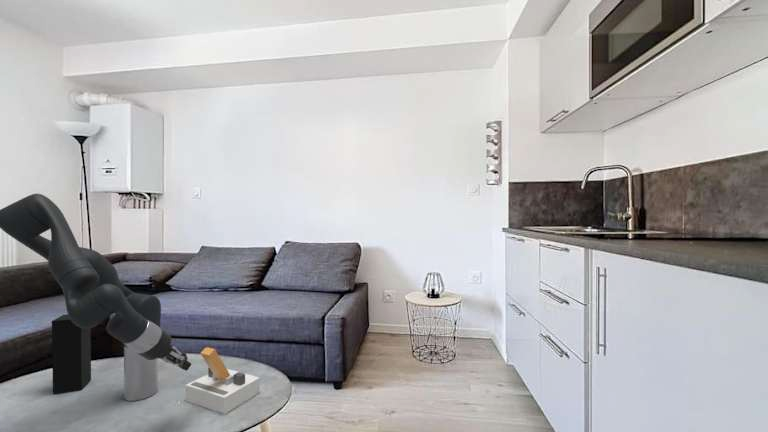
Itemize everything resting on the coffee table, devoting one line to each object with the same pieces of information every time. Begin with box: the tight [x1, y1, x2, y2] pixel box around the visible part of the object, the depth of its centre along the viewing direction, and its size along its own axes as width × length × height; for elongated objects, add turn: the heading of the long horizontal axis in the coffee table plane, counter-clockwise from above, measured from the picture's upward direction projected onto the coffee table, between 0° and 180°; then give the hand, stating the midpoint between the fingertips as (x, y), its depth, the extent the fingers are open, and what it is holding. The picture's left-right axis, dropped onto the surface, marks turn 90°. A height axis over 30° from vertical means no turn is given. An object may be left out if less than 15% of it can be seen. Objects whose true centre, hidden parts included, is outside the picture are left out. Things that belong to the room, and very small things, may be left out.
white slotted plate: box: [184, 367, 261, 415], centre depth 114 cm, size 18×14×8 cm
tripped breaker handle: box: [200, 346, 230, 381], centre depth 111 cm, size 4×2×13 cm, turn 65°
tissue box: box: [51, 313, 92, 395], centre depth 120 cm, size 8×8×28 cm
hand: (187, 366), depth 103 cm, fingers closed
